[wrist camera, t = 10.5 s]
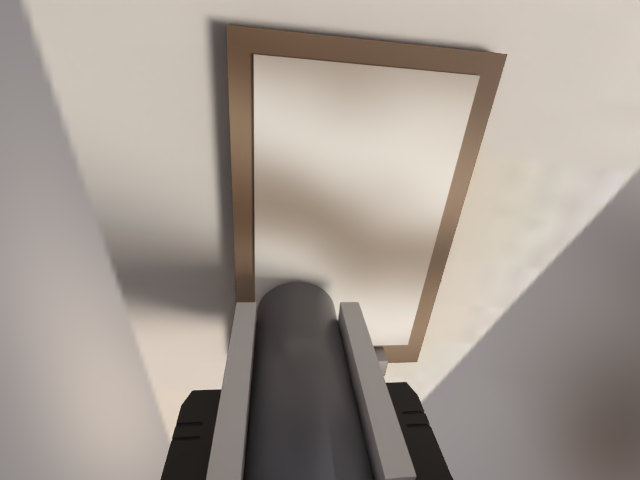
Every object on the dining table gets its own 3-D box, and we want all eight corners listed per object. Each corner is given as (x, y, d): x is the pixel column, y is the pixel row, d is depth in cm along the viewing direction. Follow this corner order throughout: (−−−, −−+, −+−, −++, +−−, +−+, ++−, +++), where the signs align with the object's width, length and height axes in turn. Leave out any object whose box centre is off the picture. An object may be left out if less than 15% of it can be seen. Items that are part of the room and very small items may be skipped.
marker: (252, 278, 14) (126, 1351, 2) (342, 279, 14) (603, 1168, 3) (253, 346, 15) (182, 1161, 4) (333, 345, 16) (474, 1067, 4)
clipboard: (228, 26, 11) (221, 21, 9) (497, 54, 12) (525, 53, 10) (239, 357, 17) (236, 382, 16) (412, 353, 18) (423, 376, 17)
